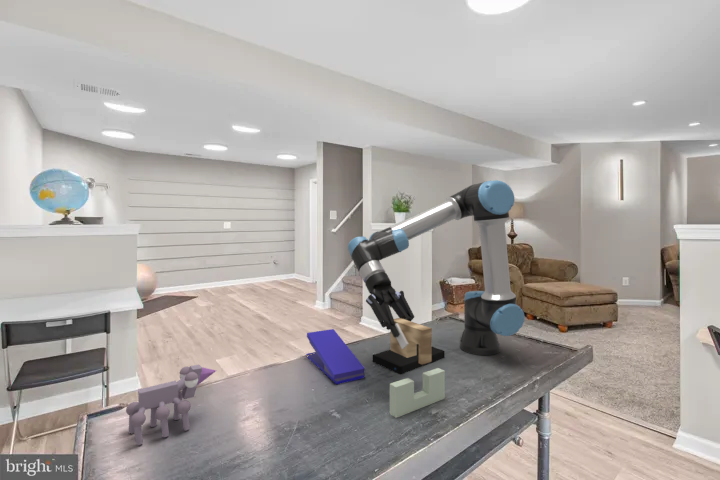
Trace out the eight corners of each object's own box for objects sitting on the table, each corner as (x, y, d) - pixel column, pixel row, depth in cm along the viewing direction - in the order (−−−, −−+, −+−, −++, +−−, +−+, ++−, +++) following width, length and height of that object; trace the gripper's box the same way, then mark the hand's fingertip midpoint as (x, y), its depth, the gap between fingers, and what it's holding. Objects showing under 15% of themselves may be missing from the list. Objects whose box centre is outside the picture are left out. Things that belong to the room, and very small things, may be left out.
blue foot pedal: (331, 352, 139) (331, 327, 139) (367, 379, 114) (366, 349, 114) (303, 357, 133) (303, 331, 133) (334, 387, 109) (334, 355, 108)
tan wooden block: (390, 350, 103) (390, 319, 103) (399, 347, 105) (399, 317, 104) (421, 364, 92) (422, 330, 92) (431, 361, 94) (431, 328, 94)
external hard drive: (444, 358, 131) (444, 350, 131) (400, 375, 117) (400, 366, 117) (415, 348, 142) (415, 341, 142) (372, 362, 128) (372, 354, 128)
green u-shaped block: (438, 395, 103) (438, 367, 102) (444, 398, 100) (444, 370, 100) (389, 413, 92) (389, 383, 92) (395, 418, 90) (395, 387, 90)
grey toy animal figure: (212, 404, 98) (211, 356, 97) (224, 421, 89) (222, 368, 89) (126, 430, 86) (124, 375, 85) (130, 452, 77) (128, 391, 77)
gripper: (390, 283, 118) (425, 345, 105) (348, 288, 109) (381, 357, 96) (401, 268, 113) (439, 332, 100) (358, 272, 104) (394, 343, 91)
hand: (411, 344), depth 98 cm, fingers closed on tan wooden block, 3 cm apart
